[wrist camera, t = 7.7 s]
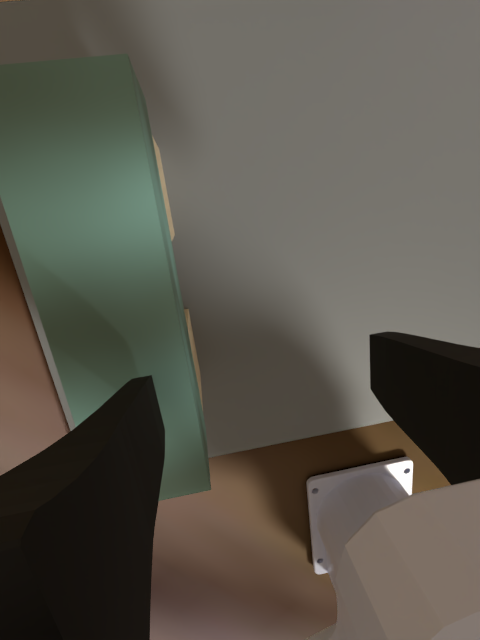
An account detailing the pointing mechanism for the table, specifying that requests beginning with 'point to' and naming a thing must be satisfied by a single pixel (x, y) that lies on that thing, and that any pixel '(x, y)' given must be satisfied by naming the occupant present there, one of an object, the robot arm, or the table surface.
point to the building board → (295, 187)
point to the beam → (100, 244)
